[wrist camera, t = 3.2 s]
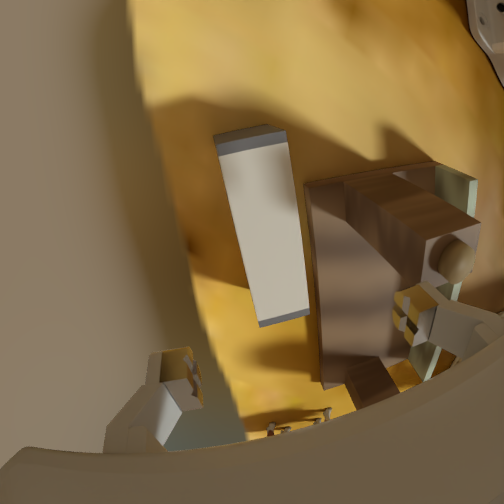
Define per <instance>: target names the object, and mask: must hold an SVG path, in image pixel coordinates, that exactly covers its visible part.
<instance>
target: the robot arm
mask: <svg viewBox="0 0 504 504" xmlns="http://www.w3.org/2000/svg"><path fill="white" fill-rule="evenodd" d="M466 1H467V8H468V16H469V25H470V30H471V33H472V35H473V37H474V39H475V40H476V42H477V43H478V44H479V45H480V47H481V48H482V49H483V50H484V51H485V52H486V54H487V55H488V56H489V58H490V60H491V62H492V64H493V66H494V68H495V70H496V72H497V75H498V77H499V79H500V81H501V83H502V84H503V86H504V0H466ZM394 301H395V302H396V305H395V306H394V308H393V311H392V317H393V322H394V324H395V326H396V327H397V329H398V330H400V331H403V332H404V338H405V339H406V340H407V341H408V343H409V344H410V345H411V347H414V346H416V345H419V344H421V343H423V342H426V341H428V340H429V342H431V343H433V344H434V345H436V346H438V347H440V348H442V349H444V350H446V351H448V352H450V353H452V354H454V355H456V356H458V357H460V358H462V361H461V362H460V363H458V364H457V365H455V366H453V367H451V368H449V369H448V370H446V371H444V372H442V373H440V374H438V375H436V376H434V377H432V378H430V379H428V380H426V381H424V382H422V383H420V384H418V385H416V386H414V387H412V388H410V389H408V390H406V391H403V392H401V393H399V394H397V395H394V396H392V397H390V398H387V399H385V400H383V401H380V402H378V403H375V404H373V405H370V406H368V407H365V408H362V409H360V410H357V411H354V412H351V413H349V414H346V415H343V416H340V417H337V418H334V419H331V420H328V421H324V422H321V423H318V424H315V425H311V426H308V427H304V428H301V429H297V430H293V431H289V432H285V433H281V434H277V435H273V436H269V437H264V438H259V439H255V440H250V441H245V442H239V443H233V444H228V445H221V446H215V447H207V448H201V449H192V450H181V451H171V452H168V451H167V450H166V449H165V448H164V447H163V445H164V443H165V441H166V440H167V438H168V436H169V434H170V433H171V431H172V429H173V428H174V426H175V424H176V422H177V420H178V419H179V417H180V415H181V414H182V411H188V410H194V409H199V408H203V395H202V392H201V390H200V387H201V385H202V378H201V373H200V369H199V366H198V364H197V362H196V361H195V360H193V353H192V351H191V349H190V347H183V348H176V349H171V350H164V351H159V352H152V353H151V354H150V355H149V360H148V367H147V375H146V382H145V385H142V386H141V387H140V388H139V389H138V390H137V392H136V393H135V394H134V395H133V396H132V397H131V399H130V400H129V401H128V402H127V403H126V404H125V406H124V407H123V408H122V409H121V410H120V412H119V413H118V414H117V415H116V416H115V417H114V418H113V420H112V421H111V422H110V423H109V424H108V425H107V428H106V433H105V440H104V446H103V453H86V452H71V451H60V450H51V449H44V448H37V447H24V448H22V449H21V450H20V451H18V452H17V453H16V454H15V455H14V456H13V457H12V458H11V459H10V460H9V461H8V462H7V463H6V464H5V465H4V466H3V467H2V468H1V469H0V504H504V320H503V319H501V318H500V317H499V316H498V315H497V314H496V313H493V312H490V311H487V310H483V309H480V308H477V307H474V306H470V305H467V304H464V303H461V302H457V301H454V300H450V301H449V300H448V299H447V298H446V297H444V296H443V295H442V294H441V293H440V292H439V291H438V290H437V289H436V288H435V287H434V286H433V285H431V284H430V283H429V282H428V281H423V282H421V283H418V284H416V285H413V286H410V287H408V288H405V289H402V290H399V291H396V293H395V295H394Z"/></svg>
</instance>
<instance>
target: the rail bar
mask: <svg viewBox="0 0 504 504" xmlns="http://www.w3.org/2000/svg"><path fill="white" fill-rule="evenodd" d="M213 137H214V142H215V146H216V150H217V155H218V159H219V163H220V168H221V172H222V176H223V180H224V185H225V189H226V193H227V197H228V202H229V206H230V210H231V214H232V218H233V223H234V227H235V231H236V235H237V239H238V243H239V248H240V252H241V256H242V260H243V264H244V268H245V272H246V276H247V280H248V284H249V289H250V292H251V296H252V300H253V304H254V308H255V311H256V315H257V319H258V323H259V326H260V328H261V327H265V326H269V325H272V324H276V323H280V322H284V321H288V320H291V319H295V318H299V317H302V316H306V315H309V314H310V310H309V299H308V290H307V280H306V271H305V262H304V254H303V245H302V237H301V229H300V222H299V214H298V207H297V200H296V193H295V186H294V179H293V173H292V166H291V160H290V154H289V148H288V142H287V136H286V131H285V130H282V129H280V128H277V127H274V126H271V125H268V124H266V125H261V126H255V127H250V128H245V129H241V130H236V131H231V132H227V133H222V134H218V135H214V136H213Z"/></svg>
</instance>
